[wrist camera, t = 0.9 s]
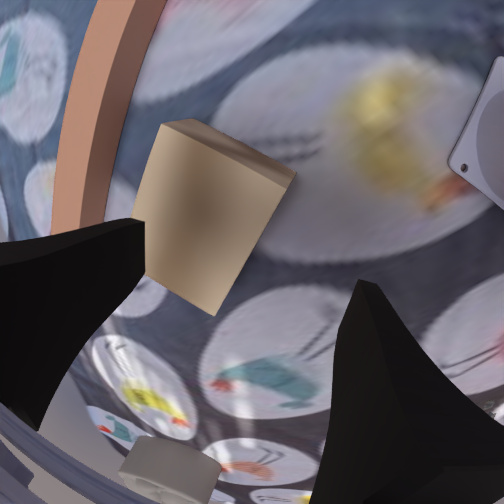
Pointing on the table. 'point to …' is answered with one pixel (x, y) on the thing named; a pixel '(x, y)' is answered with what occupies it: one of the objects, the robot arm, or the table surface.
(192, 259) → the beech block
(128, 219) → the robot arm
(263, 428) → the table surface
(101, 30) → the terracotta batten
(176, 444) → the lumpy-topped squat cylinder
